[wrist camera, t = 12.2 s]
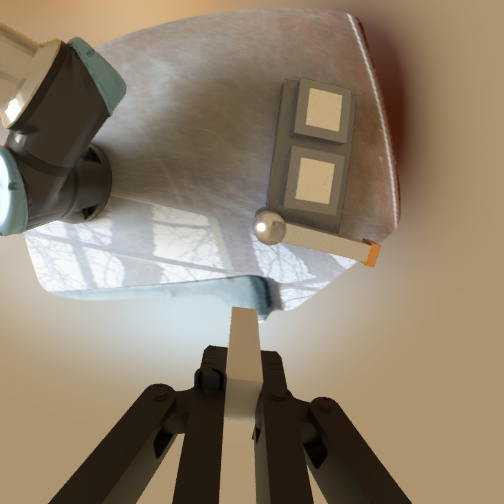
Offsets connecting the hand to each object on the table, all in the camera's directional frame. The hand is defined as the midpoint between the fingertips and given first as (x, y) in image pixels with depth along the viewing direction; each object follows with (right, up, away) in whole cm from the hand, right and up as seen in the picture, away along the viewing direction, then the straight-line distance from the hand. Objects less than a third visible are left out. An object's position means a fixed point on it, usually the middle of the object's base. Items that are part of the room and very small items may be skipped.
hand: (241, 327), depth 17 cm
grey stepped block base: (+10, +19, +27) cm, 34 cm away
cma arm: (+9, +7, +21) cm, 24 cm away
